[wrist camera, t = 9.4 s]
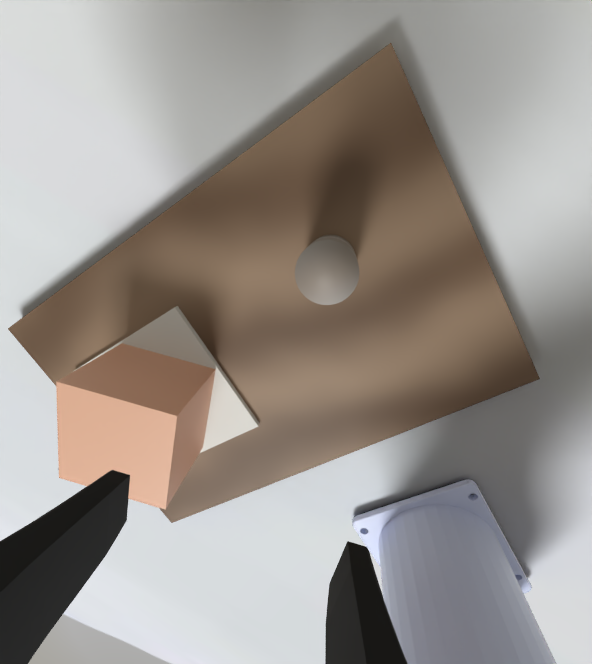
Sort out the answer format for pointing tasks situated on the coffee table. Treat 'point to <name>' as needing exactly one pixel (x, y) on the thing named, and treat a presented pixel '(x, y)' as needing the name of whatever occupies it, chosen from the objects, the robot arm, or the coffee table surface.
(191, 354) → the mat
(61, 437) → the salmon pink cube
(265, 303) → the post board
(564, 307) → the coffee table surface
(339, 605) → the robot arm
